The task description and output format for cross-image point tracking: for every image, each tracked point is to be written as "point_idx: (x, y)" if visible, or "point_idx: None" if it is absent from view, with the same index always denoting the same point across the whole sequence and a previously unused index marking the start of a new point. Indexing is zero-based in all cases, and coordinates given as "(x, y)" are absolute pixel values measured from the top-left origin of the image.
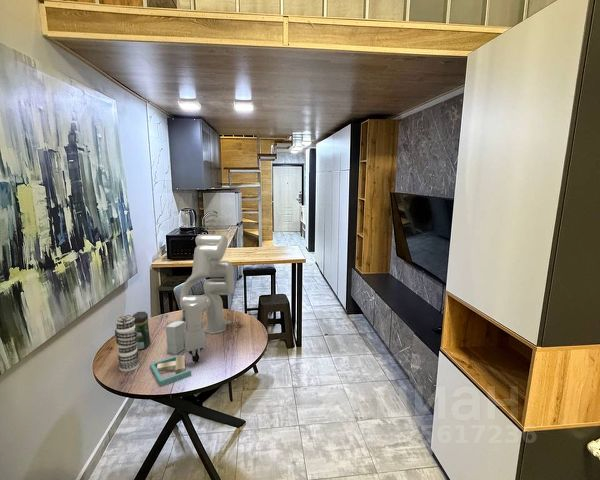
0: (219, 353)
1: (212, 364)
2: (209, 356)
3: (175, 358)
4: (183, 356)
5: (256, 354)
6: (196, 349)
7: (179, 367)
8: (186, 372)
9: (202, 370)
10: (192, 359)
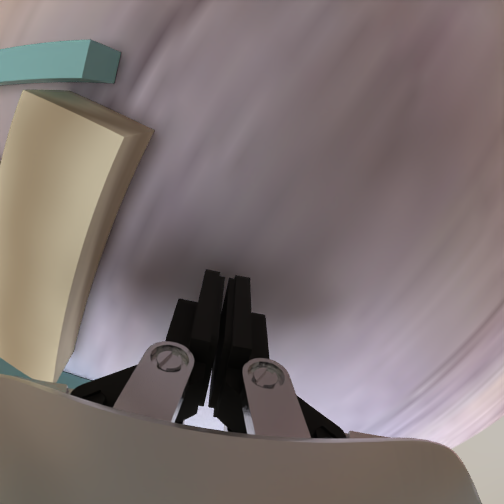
0: (477, 295)
1: (314, 396)
2: (407, 275)
3: (39, 79)
4: (93, 164)
5: (494, 419)
6: (248, 421)
7: (13, 350)
8: None
9: (203, 407)
10: (176, 307)
